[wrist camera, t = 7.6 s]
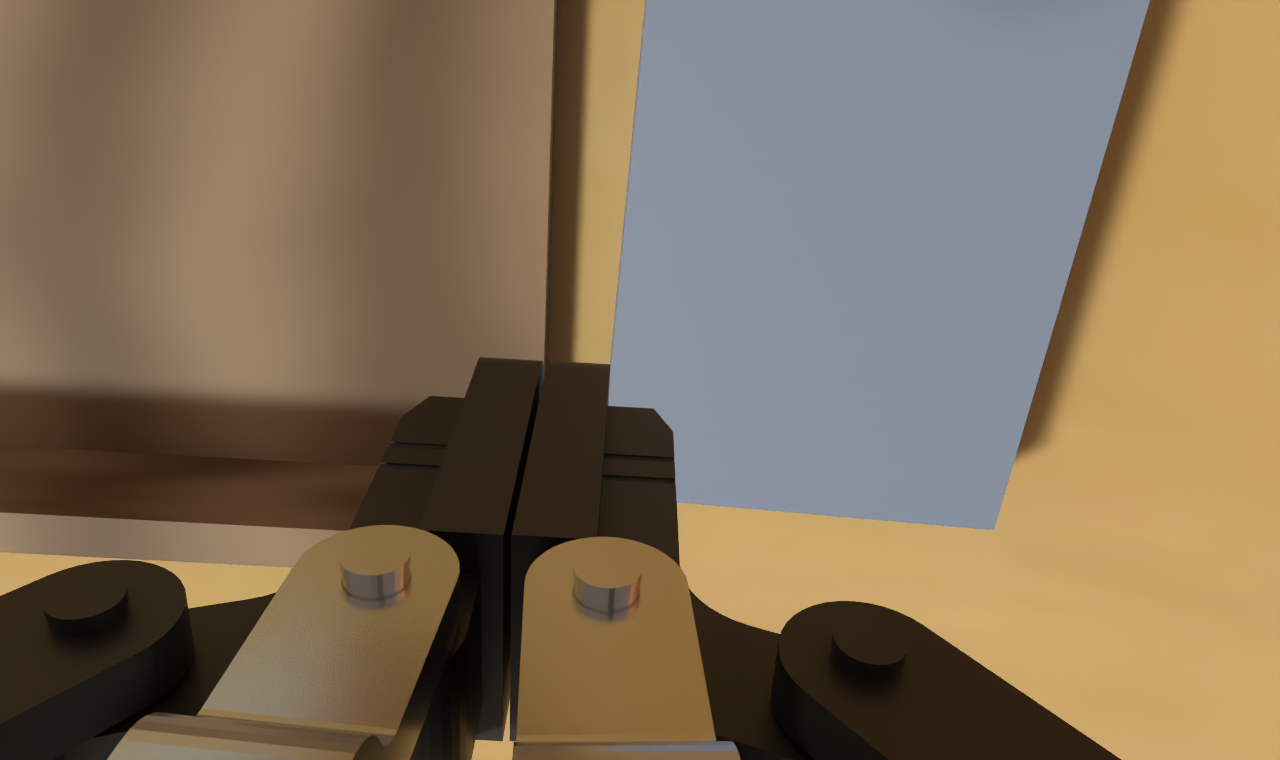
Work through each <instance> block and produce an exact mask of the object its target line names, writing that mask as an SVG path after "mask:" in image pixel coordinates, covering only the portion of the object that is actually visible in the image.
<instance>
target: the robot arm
mask: <svg viewBox="0 0 1280 760" xmlns="http://www.w3.org/2000/svg"><path fill="white" fill-rule="evenodd" d="M609 385H610V364H593V363H576V362H559V361H548V362H547V367H546V371H545V376H544V363H543V361H538V360H521V359H504V358H487V357H480V358H479V359H478V361H477V364H476V367H475V370H474V373H473V376H472V378H471V381H470V384H469V387H468V390H467V392H466V395H465V398H458V397H441V396H429V397H428V398H427V399H425V400H424V401H422V402H421V403H420V404H418V405H417V406H415V407H414V408H413V409H411V410H410V411H409V412H407V413H406V414H404V415H403V416H402V417H401V419H400V421H399V423H398V426H397V428H396V430H395V432H394V434H393V436H392V439H391V441H390V447H387V449H386V452H385V454H384V456H383V458H382V460H381V465H380V468H378V469H377V471H376V473H375V476H374V478H373V480H372V482H371V484H370V486H369V489H368V491H367V493H366V495H365V497H364V499H363V502H362V504H361V506H360V508H359V510H358V512H357V515H356V517H355V519H354V521H353V523H352V526H351V528H350V530H347V531H344V532H341V533H338V534H335V535H332V536H330V537H328V538H326V539H324V540H322V541H320V542H319V543H317V544H316V545H314V546H312V547H311V548H310V549H308V550H307V551H306V552H305V553H304V554H303V555H302V556H301V557H300V558H299V560H298V561H297V562H296V563H295V565H294V566H293V568H292V569H291V571H290V573H289V574H288V576H287V577H286V579H285V580H284V582H283V583H282V585H281V586H280V588H279V589H278V591H277V593H273V594H270V595H266V596H263V597H257V598H252V599H247V600H241V601H235V602H228V603H222V604H215V605H209V606H202V607H196V608H189V609H188V605H187V599H186V593H185V588H184V586H183V584H182V582H181V580H180V579H179V578H178V577H177V576H176V575H175V574H173V573H172V572H170V571H169V570H167V569H165V568H163V567H160V566H157V565H155V564H151V563H146V562H141V561H130V560H111V561H102V562H94V563H89V564H84V565H79V566H75V567H72V568H68V569H65V570H62V571H59V572H56V573H54V574H51V575H49V576H46V577H44V578H41V579H39V580H37V581H34V582H32V583H30V584H27V585H25V586H23V587H20V588H18V589H16V590H13V591H11V592H9V593H6V594H4V595H2V596H0V760H471V758H472V753H473V748H474V743H475V740H492V741H503V736H504V730H505V724H506V718H507V712H508V706H509V700H510V741H516V742H514V746H513V758H512V760H1121V759H1119V758H1118V757H1116V756H1115V755H1114V754H1112V753H1111V752H1109V751H1108V750H1106V749H1105V748H1103V747H1102V746H1100V745H1099V744H1097V743H1096V742H1094V741H1093V740H1091V739H1090V738H1088V737H1087V736H1086V735H1084V734H1083V733H1081V732H1080V731H1078V730H1077V729H1075V728H1074V727H1072V726H1071V725H1069V724H1068V723H1066V722H1065V721H1063V720H1062V719H1060V718H1059V717H1058V716H1056V715H1055V714H1053V713H1052V712H1050V711H1049V710H1047V709H1046V708H1044V707H1043V706H1041V705H1040V704H1038V703H1037V702H1035V701H1034V700H1033V699H1031V698H1030V697H1028V696H1027V695H1025V694H1024V693H1022V692H1021V691H1019V690H1018V689H1016V688H1015V687H1013V686H1012V685H1010V684H1009V683H1007V682H1006V681H1005V680H1003V679H1002V678H1000V677H999V676H997V675H996V674H994V673H993V672H991V671H990V670H988V669H987V668H985V667H984V666H982V665H981V664H979V663H978V662H977V661H975V660H974V659H972V658H971V657H969V656H968V655H966V654H965V653H963V652H962V651H960V650H959V649H957V648H956V647H954V646H953V645H952V644H950V643H949V642H947V641H946V640H944V639H943V638H941V637H940V636H938V635H937V634H935V633H934V632H932V631H931V630H929V629H928V628H926V627H925V626H924V625H922V624H920V623H919V622H917V621H915V620H914V619H912V618H910V617H908V616H906V615H904V614H901V613H899V612H897V611H894V610H891V609H888V608H885V607H882V606H878V605H874V604H869V603H862V602H855V601H836V602H826V603H822V604H818V605H814V606H811V607H809V608H806V609H804V610H802V611H800V612H799V613H797V614H796V615H794V616H793V617H792V618H791V619H790V620H789V621H788V622H787V623H786V624H785V626H784V628H783V629H782V631H781V634H777V633H774V632H770V631H766V630H763V629H759V628H756V627H752V626H749V625H746V624H743V623H740V622H737V621H734V620H732V619H730V618H728V617H725V616H723V615H721V614H720V613H718V612H716V611H714V610H713V609H711V608H709V607H708V606H707V605H706V604H704V603H703V602H702V601H700V600H699V599H698V598H697V597H696V596H695V595H694V594H693V593H692V592H691V590H690V589H689V586H688V582H687V579H686V576H685V574H684V573H683V571H682V569H681V568H680V563H679V542H678V521H677V500H676V484H675V462H674V437H673V431H672V430H671V428H670V427H669V426H668V425H667V424H666V422H665V421H664V420H663V419H662V418H661V416H660V415H659V414H658V413H657V412H656V410H655V409H654V408H636V407H619V406H608V404H609Z"/></svg>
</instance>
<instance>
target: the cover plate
mask: <svg viewBox="0 0 1280 760" xmlns="http://www.w3.org/2000/svg"><path fill="white" fill-rule="evenodd" d="M1149 2H1150V0H645V9H644V20H643V30H642V40H641V50H640V61H639V71H638V81H637V91H636V102H635V112H634V122H633V132H632V143H631V153H630V163H629V174H628V184H627V194H626V204H625V215H624V225H623V235H622V245H621V256H620V266H619V276H618V286H617V297H616V307H615V317H614V328H613V338H612V348H611V358H610V385H609V404H608V406H619V407H636V408H654V409H655V410H656V412H657V413H658V414H659V415H660V416H661V418H662V419H663V420H664V421H665V422H666V424H667V425H668V426H669V427H670V428H671V430H672V431H673V437H674V462H675V484H676V500H677V502H678V503H690V504H701V505H713V506H724V507H735V508H747V509H758V510H770V511H781V512H792V513H804V514H815V515H827V516H838V517H850V518H861V519H872V520H884V521H895V522H907V523H918V524H929V525H941V526H952V527H964V528H975V529H986V530H994V528H995V525H996V521H997V518H998V514H999V511H1000V508H1001V504H1002V501H1003V497H1004V494H1005V491H1006V487H1007V484H1008V480H1009V477H1010V474H1011V470H1012V467H1013V464H1014V460H1015V457H1016V453H1017V450H1018V447H1019V443H1020V440H1021V436H1022V433H1023V430H1024V426H1025V423H1026V419H1027V416H1028V413H1029V409H1030V406H1031V402H1032V399H1033V396H1034V392H1035V389H1036V386H1037V382H1038V379H1039V375H1040V372H1041V369H1042V365H1043V362H1044V358H1045V355H1046V352H1047V348H1048V345H1049V341H1050V338H1051V335H1052V331H1053V328H1054V325H1055V321H1056V318H1057V314H1058V311H1059V308H1060V304H1061V301H1062V297H1063V294H1064V291H1065V287H1066V284H1067V280H1068V277H1069V274H1070V270H1071V267H1072V263H1073V260H1074V257H1075V253H1076V250H1077V247H1078V243H1079V240H1080V236H1081V233H1082V230H1083V226H1084V223H1085V219H1086V216H1087V213H1088V209H1089V206H1090V202H1091V199H1092V196H1093V192H1094V189H1095V185H1096V182H1097V179H1098V175H1099V172H1100V169H1101V165H1102V162H1103V158H1104V155H1105V152H1106V148H1107V145H1108V141H1109V138H1110V135H1111V131H1112V128H1113V124H1114V121H1115V118H1116V114H1117V111H1118V107H1119V104H1120V101H1121V97H1122V94H1123V91H1124V87H1125V84H1126V80H1127V77H1128V74H1129V70H1130V67H1131V63H1132V60H1133V57H1134V53H1135V50H1136V46H1137V43H1138V40H1139V36H1140V33H1141V30H1142V26H1143V23H1144V19H1145V16H1146V13H1147V9H1148V6H1149Z"/></svg>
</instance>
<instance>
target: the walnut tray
mask: <svg viewBox="0 0 1280 760" xmlns="http://www.w3.org/2000/svg"><path fill="white" fill-rule="evenodd" d="M556 21H557V0H0V552H7V553H26V554H46V555H65V556H84V557H103V558H122V559H141V560H160V561H179V562H198V563H217V564H236V565H255V566H274V567H293V566H294V565H295V563H296V562H297V561H298V560H299V558H300V557H301V556H302V555H303V554H304V553H305V552H306V551H307V550H308V549H310V548H311V547H312V546H314V545H316V544H317V543H319V542H320V541H322V540H324V539H326V538H328V537H330V536H332V535H335V534H338V533H341V532H344V531H347V530H350V528H351V526H352V523H353V521H354V519H355V517H356V515H357V512H358V510H359V508H360V506H361V504H362V502H363V499H364V497H365V495H366V493H367V491H368V489H369V486H370V484H371V482H372V480H373V478H374V476H375V473H376V471H377V469H378V468H380V465H381V460H382V458H383V456H384V454H385V452H386V449H387V447H390V441H391V439H392V436H393V434H394V432H395V430H396V428H397V426H398V423H399V421H400V419H401V417H402V416H403V415H404V414H406V413H407V412H409V411H410V410H411V409H413V408H414V407H415V406H417V405H418V404H420V403H421V402H422V401H424V400H425V399H427V398H428V397H429V396H441V397H458V398H465V395H466V392H467V390H468V387H469V384H470V381H471V378H472V376H473V373H474V370H475V367H476V364H477V361H478V359H479V358H480V357H487V358H504V359H521V360H538V361H543V363H544V376H545V371H546V360H547V326H548V292H549V258H550V224H551V190H552V156H553V123H554V89H555V55H556Z"/></svg>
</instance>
